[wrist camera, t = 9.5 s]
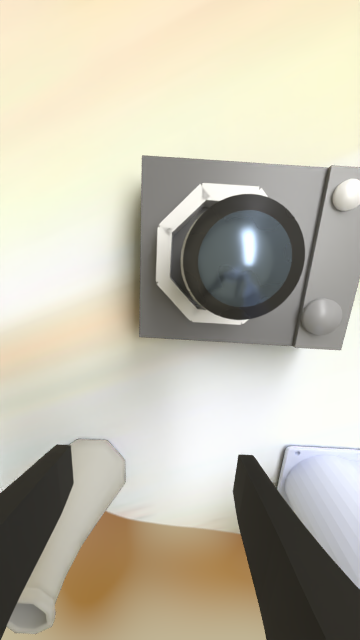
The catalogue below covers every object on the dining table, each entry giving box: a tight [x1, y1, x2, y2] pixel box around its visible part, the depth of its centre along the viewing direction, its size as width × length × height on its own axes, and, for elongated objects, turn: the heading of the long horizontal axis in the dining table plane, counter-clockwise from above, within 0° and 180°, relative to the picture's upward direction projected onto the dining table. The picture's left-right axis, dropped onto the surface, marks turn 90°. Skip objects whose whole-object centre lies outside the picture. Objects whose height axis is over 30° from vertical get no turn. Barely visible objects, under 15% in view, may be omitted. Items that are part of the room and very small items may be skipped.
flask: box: [6, 439, 126, 634], centre depth 17 cm, size 7×7×10 cm
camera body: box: [139, 155, 360, 350], centre depth 15 cm, size 14×11×5 cm
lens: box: [181, 194, 305, 320], centre depth 11 cm, size 5×5×6 cm
